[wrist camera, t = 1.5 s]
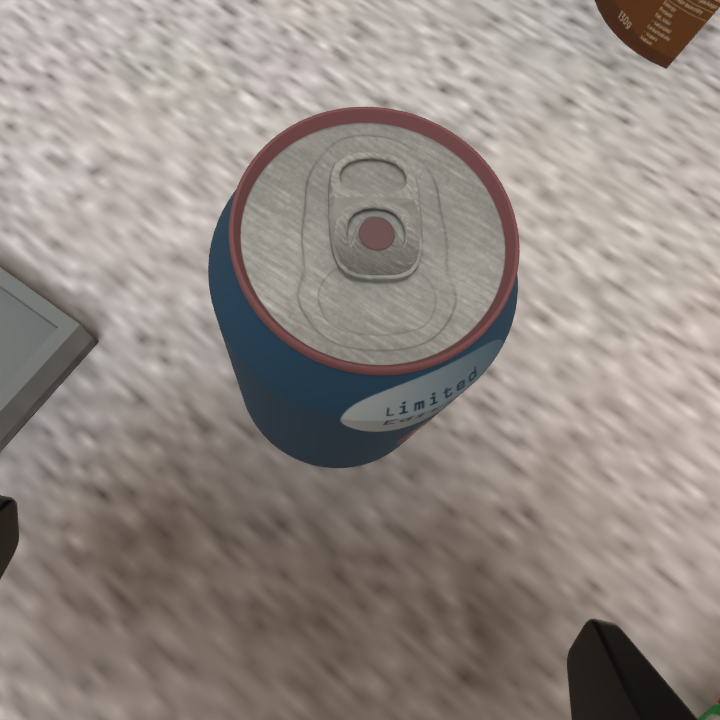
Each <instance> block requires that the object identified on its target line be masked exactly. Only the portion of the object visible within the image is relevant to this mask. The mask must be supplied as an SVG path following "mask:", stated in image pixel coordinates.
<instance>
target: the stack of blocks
mask: <svg viewBox="0 0 720 720" xmlns="http://www.w3.org/2000/svg"><path fill="white" fill-rule="evenodd" d="M698 720H720V699H719V700H718V702H717V704H715V705H714V706H713V707H712V708H711V709H710V710H708V711H707V712H706V713H705V714H703V715H702V716H701V717H700V718H699V719H698Z"/></svg>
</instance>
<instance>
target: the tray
mask: <svg viewBox="0 0 720 720" xmlns="http://www.w3.org/2000/svg"><path fill="white" fill-rule="evenodd" d="M97 343H98V342H97V341H96V340H95V339H94V338H93V337H92V336H91V335H90V334H89V333H88V332H87V331H86V330H85V329H84V328H83V327H82V326H81V325H80V324H79V323H78V322H76V321H75V320H73V319H72V318H71V317H69V316H68V315H66V314H65V313H64V312H62V311H61V310H59V309H58V308H57V307H55V306H54V305H52V304H51V303H50V302H48V301H47V300H45V299H44V298H43V297H41V296H40V295H38V294H37V293H36V292H34V291H33V290H31V289H30V288H29V287H27V286H26V285H24V284H23V283H22V282H20V281H19V280H17V279H16V278H15V277H13V276H12V275H10V274H9V273H8V272H6V271H5V270H3V269H2V268H1V267H0V451H1V450H2V449H3V448H4V447H5V446H6V444H7V443H8V442H9V441H10V440H11V439H12V438H13V437H14V435H15V434H16V433H17V432H18V431H19V430H20V429H21V428H22V427H23V425H24V424H25V423H26V422H27V421H28V420H29V419H30V418H31V416H32V415H33V414H34V413H35V412H36V411H37V410H38V409H39V408H40V406H41V405H42V404H43V403H44V402H45V401H46V400H47V399H48V397H49V396H50V395H51V394H52V393H53V392H54V391H55V390H56V389H57V387H58V386H59V385H60V384H61V383H62V382H63V381H64V380H65V378H66V377H67V376H68V375H69V374H70V373H71V372H72V371H73V369H74V368H75V367H76V366H77V365H78V364H79V363H80V362H81V361H82V359H83V358H84V357H85V356H86V355H87V354H88V353H89V352H90V350H91V349H92V348H93V347H94V346H95V345H96V344H97Z"/></svg>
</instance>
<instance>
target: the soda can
mask: <svg viewBox="0 0 720 720" xmlns="http://www.w3.org/2000/svg"><path fill="white" fill-rule="evenodd" d="M518 264H519V235H518V229H517V223H516V219H515V215H514V212H513V209H512V206H511V203H510V200H509V198H508V196H507V193H506V192H505V190H504V188H503V186H502V184H501V182H500V181H499V179H498V177H497V176H496V174H495V173H494V172H493V170H492V169H491V167H490V166H489V165H488V164H487V163H486V161H485V160H484V159H483V158H482V157H481V156H480V155H479V154H478V153H477V152H476V151H475V150H474V149H473V148H472V147H471V146H470V145H468V144H467V143H466V142H465V141H463V140H462V139H461V138H459V137H458V136H456V135H455V134H454V133H452V132H450V131H449V130H447V129H445V128H444V127H442V126H440V125H438V124H436V123H434V122H432V121H429V120H427V119H425V118H422V117H419V116H417V115H414V114H410V113H407V112H403V111H398V110H393V109H387V108H378V107H351V108H343V109H337V110H332V111H327V112H324V113H320V114H317V115H314V116H312V117H309V118H307V119H304V120H302V121H300V122H298V123H296V124H294V125H292V126H290V127H289V128H287V129H286V130H284V131H283V132H281V133H280V134H279V135H277V136H276V137H275V138H273V139H272V140H271V141H270V142H269V143H268V144H267V145H266V146H265V147H264V148H263V149H262V150H261V151H260V152H259V153H258V154H257V155H256V157H255V158H254V159H253V160H252V162H251V163H250V165H249V166H248V168H247V169H246V171H245V173H244V174H243V176H242V178H241V180H240V182H239V185H238V187H237V189H236V191H235V192H234V193H233V195H232V196H231V198H230V199H229V201H228V202H227V204H226V206H225V208H224V210H223V211H222V214H221V216H220V218H219V220H218V223H217V226H216V228H215V231H214V235H213V239H212V243H211V248H210V254H209V266H208V272H209V287H210V294H211V299H212V304H213V307H214V311H215V314H216V317H217V320H218V323H219V326H220V329H221V332H222V335H223V338H224V341H225V344H226V347H227V350H228V353H229V356H230V359H231V363H232V366H233V369H234V372H235V375H236V378H237V381H238V384H239V387H240V390H241V393H242V396H243V399H244V402H245V404H246V407H247V410H248V412H249V414H250V416H251V418H252V419H253V421H254V423H255V424H256V426H257V427H258V429H259V430H260V431H261V432H262V434H263V435H264V436H265V437H266V438H267V439H268V440H269V441H270V442H271V443H272V444H274V445H275V446H276V447H277V448H279V449H280V450H281V451H283V452H285V453H286V454H288V455H290V456H291V457H293V458H295V459H298V460H300V461H302V462H305V463H308V464H312V465H316V466H321V467H329V468H346V467H354V466H359V465H363V464H367V463H370V462H372V461H375V460H377V459H379V458H381V457H383V456H385V455H387V454H389V453H390V452H392V451H393V450H394V449H396V448H397V447H398V446H400V445H401V444H402V443H403V442H404V441H406V440H407V439H408V438H409V437H410V436H412V435H413V434H414V433H415V432H416V431H417V430H419V429H420V428H421V427H422V426H423V425H425V424H426V423H427V422H428V421H429V420H431V419H432V418H433V417H434V416H435V415H437V414H438V413H439V412H440V411H441V410H442V409H444V408H445V407H446V406H447V405H448V404H450V403H451V402H452V401H453V400H454V399H456V398H457V397H458V396H459V395H460V394H461V393H463V392H464V391H465V390H466V389H467V388H469V387H470V386H471V385H472V384H473V383H474V382H475V381H476V380H477V379H478V378H479V377H480V376H481V375H482V374H483V373H484V372H485V371H486V370H487V368H488V367H489V366H490V365H491V363H492V362H493V361H494V359H495V358H496V356H497V355H498V353H499V351H500V350H501V348H502V346H503V344H504V342H505V340H506V338H507V336H508V333H509V331H510V328H511V325H512V322H513V318H514V314H515V310H516V304H517V294H518V277H517V270H518Z"/></svg>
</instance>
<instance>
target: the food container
mask: <svg viewBox="0 0 720 720" xmlns="http://www.w3.org/2000/svg"><path fill="white" fill-rule="evenodd" d="M595 2H596V4H597V7H598V10H599V11H600V13H601V15H602V17H603V18H604V20H605V22H606V23H607V24H608V26H609V27H610V28H611V29H612V31H613V32H614V33H615V34H616V35H617V36H618V37H619V38H620V39H621V40H622V41H623V42H624V43H625V44H626V45H627V46H629V47H630V48H631V49H632V50H634V51H635V52H636V53H638V54H639V55H641V56H643V57H644V58H646V59H648V60H649V61H651V62H653V63H655V64H658V65H660V66H662V67H664V68H667V67H668V66H669V65H670V64H671V63H672V61H673V60H674V59H675V58H676V57H677V56H678V55H679V53H680V52H681V51H682V50H683V49H684V48H685V46H686V45H687V44H688V43H689V42H690V41H691V40H692V38H693V37H694V36H695V35H696V34H697V33H698V31H699V30H700V29H701V28H702V27H703V26H704V25H705V23H706V22H707V21H708V20H709V19H710V18H711V16H712V15H713V14H714V13H715V12H716V11H717V10H718V8H719V7H720V0H595Z"/></svg>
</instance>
